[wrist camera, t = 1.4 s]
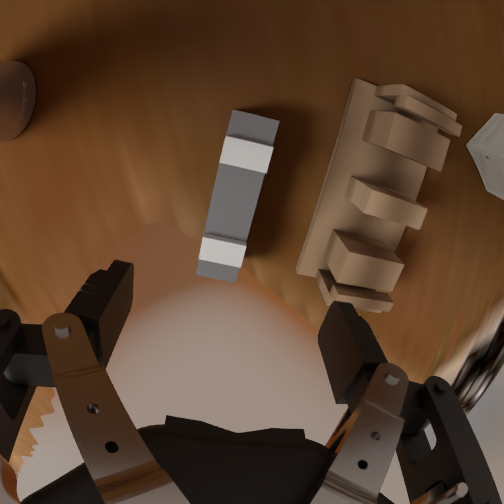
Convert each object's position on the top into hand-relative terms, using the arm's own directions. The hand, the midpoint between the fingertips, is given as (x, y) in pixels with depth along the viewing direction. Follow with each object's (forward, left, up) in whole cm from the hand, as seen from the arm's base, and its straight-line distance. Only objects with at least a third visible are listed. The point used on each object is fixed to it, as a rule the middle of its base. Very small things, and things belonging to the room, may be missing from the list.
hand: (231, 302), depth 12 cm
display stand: (+13, +3, -18) cm, 22 cm away
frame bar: (0, 0, -18) cm, 18 cm away
